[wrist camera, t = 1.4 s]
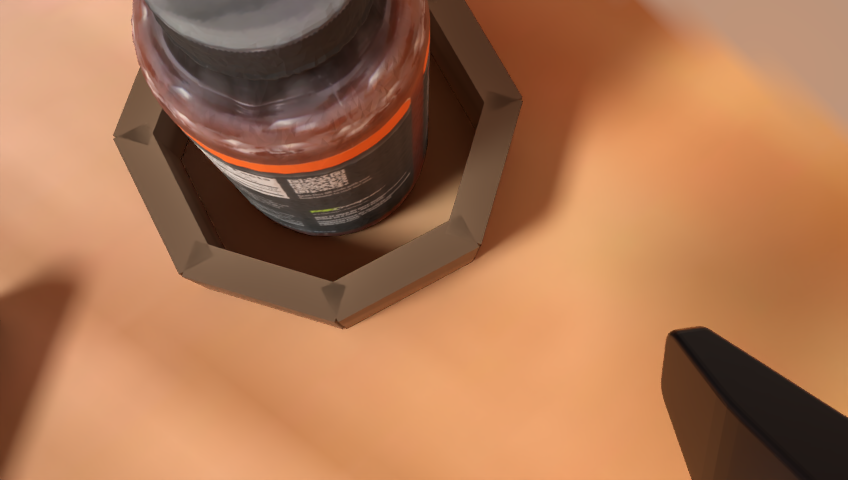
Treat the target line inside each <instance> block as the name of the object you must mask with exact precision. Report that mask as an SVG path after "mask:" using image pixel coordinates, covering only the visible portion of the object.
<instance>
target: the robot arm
mask: <svg viewBox="0 0 848 480" xmlns="http://www.w3.org/2000/svg"><path fill="white" fill-rule="evenodd" d="M661 388H662V394H663V399H664V402H665V405H666V408H667V410H668V413H669V416H670V419H671V422H672V425H673V428H674V430H675V433H676V436H677V439H678V442H679V445H680V448H681V450H682V453H683V456H684V459H685V462H686V465H687V468H688V471H689V473H690V476H691V479H692V480H848V418H847V417H846V416H844V415H843V414H841V413H840V412H838V411H837V410H835V409H833V408H832V407H830V406H829V405H827V404H826V403H824V402H822V401H821V400H819V399H818V398H816V397H815V396H813V395H812V394H810V393H808V392H807V391H805V390H804V389H802V388H801V387H799V386H797V385H796V384H794V383H793V382H791V381H790V380H788V379H787V378H785V377H783V376H782V375H780V374H779V373H777V372H776V371H774V370H773V369H771V368H769V367H768V366H766V365H765V364H763V363H762V362H760V361H758V360H757V359H755V358H754V357H752V356H751V355H749V354H748V353H746V352H744V351H743V350H741V349H740V348H738V347H737V346H735V345H733V344H732V343H730V342H729V341H727V340H726V339H724V338H723V337H721V336H719V335H718V334H716V333H715V332H713V331H712V330H710V329H708V328H706V327H702V326H697V327H691V328H684V329H677V330H673V331H671V332H670V333H669V334H668V336H667V338H666V344H665V352H664V361H663V369H662V377H661Z"/></svg>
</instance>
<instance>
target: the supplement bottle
mask: <svg viewBox="0 0 848 480" xmlns="http://www.w3.org/2000/svg"><path fill="white" fill-rule="evenodd" d="M131 23H132V32H133V33H132V36H133V43H134V45H135V50H136V55H137V59H138V63H139V65H140V67H141V70H142V74H143V76H144V78H145V80H146V82H147V84H148V86H149V87H150V89H151V92H152V94H153V96H154V97H155V98H156V100H157V101H158V103H159V105H160V106H161V107H162V108H163V110H164V111H165V112H166V113H167V114H168V116H169V117H170V118H171V119H172V120H173V121H174V122H175V123H176V124H177V125H178V126H179V127H180V128H181V129H182V131H183V132H184V133H185V134H186V135H187V136H188V137H189V138H190V139H191V140H192V141H193V142H194V143H195V144H196V145H197V146H198V147H199V148H200V149H201V150H202V151H203V152H204V154H205V155H206V156H207V157H208V158H209V159H210V160H211V161H212V162H213V163H214V164H215V165H216V166H217V167H218V168H219V170H220V171H221V172H223V174H224V175H225V176H226V177H227V178H228V179H229V180H230V181H231V182H232V183H233V184H234V185H235V186H236V188H237V189H238V190H239V191H240V192H241V193H242V194H243V195H244V196H245V197H246V198H247V199H248V200H249V202H250V203H251V204H253V205H254V206H255V207H256V208H257V209H259V210H260V211H261V212H262V213H264V214H265V215H266V216H267V217H268V218H270V219H271V220H273V221H274V222H276V223H278V224H280V225H282V226H284V227H286V228H288V229H291V230H294V231H296V232H300V233H304V234H307V235H311V236H337V235H345V234H349V233H353V232H357V231H360V230H363V229H365V228H367V227H370V226H372V225H374V224H376V223H378V222H379V221H381V220H382V219H384V218H386V217H387V216H389V215H390V214H391V213H392V212H393V211H394V210H395V209H397V208H398V206H399V205H400V204H401V203H402V202H403V201H404V200H405V198H406V197H407V196H408V194H409V193H410V192H411V190H412V188H413V187H414V185H415V183H416V181H417V179H418V177H419V174H420V172H421V169H422V166H423V163H424V159H425V154H426V149H427V142H428V138H427V137H428V101H429V66H430V13H429V5H428V1H427V0H133V15H132V19H131Z"/></svg>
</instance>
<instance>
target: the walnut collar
mask: <svg viewBox="0 0 848 480" xmlns="http://www.w3.org/2000/svg"><path fill="white" fill-rule="evenodd" d="M427 1H428V5H429V13H430V52H431V54H432V55H433V57H434V59H435V60H436V62H437V64H438V66H439V67H440V69H441V71H442V73H443V74H444V76H445V78H446V80H447V81H448V83H449V85H450V86H451V88H452V90H453V92H454V93H455V95H456V97H457V99H458V100H459V102H460V104H461V106H462V107H463V109H464V111H465V112H466V114H467V116H468V118H469V119H470V121H471V123H472V125H473V126H474V128H475V130H476V133H475V136H474V139H473V143H472V146H471V149H470V153H469V156H468V159H467V163H466V166H465V169H464V173H463V176H462V179H461V183H460V186H459V189H458V193H457V196H456V199H455V203H454V206H453V209H452V213H451V216H450V220H449V221H448V222H446V223H444V224H442V225H440V226H438V227H436V228H434V229H433V230H431V231H429V232H427V233H425V234H423V235H421V236H419V237H417V238H415V239H414V240H412V241H410V242H408V243H406V244H404V245H402V246H400V247H398V248H397V249H395V250H393V251H391V252H389V253H387V254H385V255H383V256H381V257H379V258H378V259H376V260H374V261H372V262H370V263H368V264H366V265H364V266H362V267H360V268H359V269H357V270H355V271H353V272H351V273H349V274H347V275H345V276H343V277H342V278H340V279H338V280H336V281H334V282H332V281H328V280H325V279H322V278H318V277H315V276H312V275H308V274H305V273H302V272H298V271H295V270H292V269H288V268H285V267H282V266H278V265H275V264H272V263H268V262H265V261H262V260H258V259H255V258H252V257H248V256H245V255H242V254H238V253H235V252H232V251H228V250H225V248H224V246H223V244H222V242H221V240H220V238H219V236H218V234H217V232H216V230H215V228H214V226H213V224H212V222H211V220H210V218H209V216H208V214H207V212H206V210H205V208H204V206H203V204H202V202H201V200H200V198H199V196H198V194H197V192H196V190H195V188H194V186H193V184H192V182H191V180H190V178H189V176H188V174H187V172H186V170H185V168H184V166H183V164H182V162H181V157H182V154H183V152H184V149H185V146H186V144H187V141H188V138H189V137H188V136H187V135H186V134H185V133H184V132H183V131H182V129H181V128H180V127H179V126H178V125H177V124H176V123H175V122H174V121H173V120H172V119H171V118H170V117H169V116H168V114H167V113H166V112H165V111H164V110H163V108H162V107H161V106H160V105H159V103H158V101H157V100H156V98H155V97H154V96H153V94H152V92H151V89H150V87H149V86H148V84H147V82H146V80H145V78H144V76H143V74H142V70H141V67H140V69H139V71H138V74H137V76H136V79H135V81H134V84H133V86H132V89H131V91H130V94H129V96H128V99H127V102H126V104H125V107H124V109H123V112H122V114H121V117H120V119H119V122H118V124H117V127H116V129H115V132H114V134H113V136H115V137H116V138H114V141H115V143H116V146H117V148H118V150H119V152H120V154H121V156H122V158H123V160H124V162H125V164H126V166H127V168H128V170H129V172H130V174H131V176H132V178H133V180H134V183H135V185H136V187H137V189H138V191H139V193H140V195H141V197H142V199H143V201H144V203H145V205H146V207H147V209H148V211H149V213H150V215H151V218H152V220H153V222H154V224H155V226H156V228H157V230H158V232H159V234H160V236H161V238H162V240H163V242H164V244H165V246H166V248H167V250H168V252H169V255H170V257H171V259H172V261H173V263H174V265H175V267H176V269H177V271H178V273H179V274H180V275H182V277H184V278H186V279H189V280H191V281H193V282H195V283H197V284H199V285H202V286H204V287H206V288H208V289H212V290H215V291H218V292H222V293H225V294H228V295H232V296H235V297H238V298H241V299H245V300H248V301H251V302H255V303H258V304H261V305H265V306H268V307H271V308H275V309H278V310H281V311H284V312H288V313H291V314H294V315H298V316H301V317H304V318H308V319H311V320H314V321H318V322H321V323H324V324H328V325H331V326H334V327H337V328H341V329H343V328H344V327H345V328H346V329H347V328H349V327H351V326H353V325H355V324H357V323H358V322H360V321H362V320H364V319H366V318H368V317H370V316H372V315H373V314H375V313H377V312H379V311H381V310H383V309H385V308H387V307H388V306H390V305H392V304H394V303H396V302H398V301H400V300H401V299H403V298H405V297H407V296H409V295H411V294H413V293H415V292H416V291H418V290H420V289H422V288H424V287H426V286H428V285H429V284H431V283H433V282H435V281H437V280H439V279H441V278H443V277H444V276H446V275H448V274H450V273H452V272H454V271H456V270H457V269H459V268H461V267H463V266H465V265H467V264H469V263H471V262H472V261H473V259H474V258H475V256H476V254H477V252H478V250H479V248H480V246H481V244H482V240H483V237H484V233H485V230H486V226H487V223H488V220H489V216H490V213H491V209H492V206H493V202H494V199H495V195H496V192H497V188H498V185H499V181H500V178H501V175H502V171H503V168H504V164H505V161H506V157H507V154H508V150H509V147H510V143H511V140H512V136H513V133H514V130H515V126H516V123H517V119H518V116H519V112H520V109H521V105H522V102H523V101H522V96H521V94H520V93H519V91H518V89H517V88H516V86H515V84H514V82H513V81H512V79H511V77H510V76H509V74H508V72H507V71H506V69H505V67H504V66H503V64H502V62H501V61H500V59H499V57H498V56H497V54H496V52H495V50H494V49H493V47H492V45H491V44H490V42H489V40H488V39H487V37H486V35H485V34H484V32H483V30H482V29H481V27H480V25H479V23H478V22H477V20H476V18H475V17H474V15H473V13H472V12H471V10H470V8H469V7H468V5H467V3H466V2H465V0H427Z"/></svg>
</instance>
